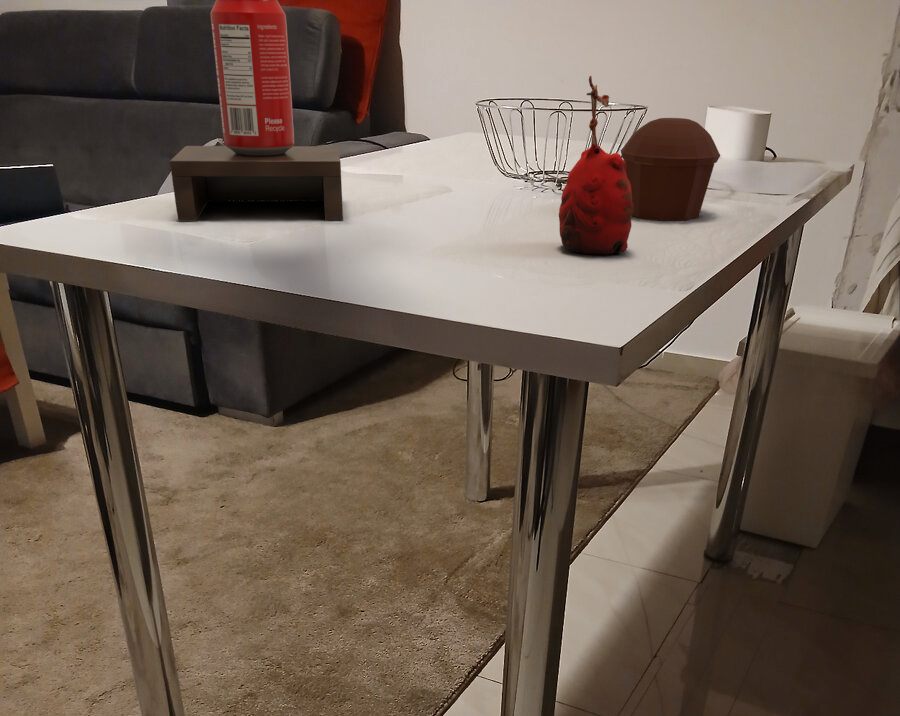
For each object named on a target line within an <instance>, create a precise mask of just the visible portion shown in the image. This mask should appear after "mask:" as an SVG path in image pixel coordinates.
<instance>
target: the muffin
mask: <svg viewBox="0 0 900 716" xmlns="http://www.w3.org/2000/svg"><path fill="white" fill-rule="evenodd" d="M620 155H621V157H622V159H623V160H624V161H625V162H626V165H627V166H626V174H627V178H628V180H629V181H630V184H631V192H632V203H633V206H634V211H633V214H632V217H634V218H637V219H646V220H655V221H687V220H692V219H698V218H699V217H700V214H701V211H702V207H703V204H704V200H705V197H706V194H707V190H708V187H709V184H710V180H711V178H712V173H713V170H714V167H715V164H716V163H718V161H719V159H720V157H721V154H720V152H719V149H718V147H717V145H716V142H715V141H714V138H713V137H712V135H711V134H710V133H709V132H708V130H707V129H706V128H705V127H703V126H702V125H701V124H700V123H699V122H697V121H695V120H692V119H689V118H682V117H660V118H657V119H653V120H650V121H648V122H647V123H645V124H644V125H642V126H641V127H639V128H638V129H637V130H635V132H633V134H632V135H631V136H630V138H629V139H628V140H627V141H626V143H625V144H624V146H623V147H622V148H621V149H620Z"/></svg>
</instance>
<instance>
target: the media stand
mask: <svg viewBox="0 0 900 716" xmlns="http://www.w3.org/2000/svg"><path fill="white" fill-rule="evenodd" d="M169 164H170V165H169V166H170V172H171V173H170V174H171V180H172V188H173V194H174V201H175V208H176V209H175V210H176V216H177V222H197V221H198V219H199V217H200V215H201V214H202V212H203V210H204V209H205V208H206V206H207V204H208V203H210V202H212V203H213V202H214V203H215V202H219V203H220V202H221V203H222V202H225V203H226V202H229V203H230V202H231V203H232V202H323V208H324V221H343V220H344V211H343V209H344V208H343V187H342V186H343V185H342V165H341V157H340V153H339V148H338V146H336V145H335V146H332V145H331V146H330V145H329V146H327V145H325V146H323V145H321V146H320V145H317V146H316V145H314V146H313V145H311V146H310V145H304V146H303V145H301V146H300V145H297V146H296V145H294V146H293V147H292V148H290V149H289V150H288V151H287V152H286V153H284V154H280V155H270V156H249V155H240V154H236V153H235V152H233V151H232V150H231V149H229V148H228V147H226V146H225V145H185V146H184V147H183V148H182V149H180V151H179V152H178V153H176V155H174V157H172V158H171V159H170V160H169Z"/></svg>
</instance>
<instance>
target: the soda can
mask: <svg viewBox="0 0 900 716" xmlns="http://www.w3.org/2000/svg"><path fill="white" fill-rule="evenodd" d="M210 25H211V33H212V34H211V35H212V43H213V51H214V52H213V53H214V62H215V72H216V80H217V81H216V82H217V91H218V100H219V109H220V118H221V129H222V136H223V137H222V138H223V143H224V146H226V147H228V148H229V149H231V150H232V151H233V152H235V153H236V154H240V155H249V156H270V155H280V154H284V153H286V152H287V151H288V150H289V149H290V148H292V147H293V146H295V127H294V113H293V100H292V99H293V98H292V97H293V96H292V82H291V70H290V69H291V68H290V55H289V40H288V39H289V38H288V25H287V15H286V12H285V11H284V9H283V8H282V6H281V4H280V2H279V0H215V2H214V4H213V7H212V8H211V10H210Z"/></svg>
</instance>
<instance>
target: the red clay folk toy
mask: <svg viewBox="0 0 900 716" xmlns="http://www.w3.org/2000/svg"><path fill="white" fill-rule="evenodd" d="M588 76H589V77H588V83H589V87H590V89H591V91H590V92H586V96H590V100H591V116H592V119H590V120H589V124H588V128H589V129H590V131H591V133H592V134H591V142H590V143H591V145H590V147H589V148H587V149H585V150H583V151H582V152H581V154H580V157H579V159H578V160H577V162H576V163H575V164H574V165H573V167H572V168H571V169H570V171H569V173H568V175H567V178H566V184H565V186H564V187H563V189H562V194H561V202H560V206H559V209H558V222H559V237H560V239H561V244H562V246H563V247H564V248H566V249H567V250H569V251H572V252H575V253H578V254H585V255H598V256H599V255H611V254H613V253H617V254H623V253H624V252H626V251H627V249H628V247H629V245H628V244H629V243H628V240H629V238H630V237H629V236H630V234H631V230H632V217H633V216H632V214H633V211H634V206H633V203H632V192H631V184H630V181H629V180H628V178H627V174H626V166H627V165H626V162H625V161H624V159H623V158H622V155H621V153H617V152H614V153H611V154H610V153H608V152H606V151H605V150H604V149H603V148H602V147H601V146H600V145H599V144H598V139H597V129H596V128H597V126H598V123H599V122H598V119H597V105H598V104H597V103H598V102H599V103H601V104H602V106H603V107H605V108H608V107H609V103H610V96H609V95H608V94H602V96H601V95H599V92H598V85H597V84H593V79H592V75H588Z"/></svg>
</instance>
